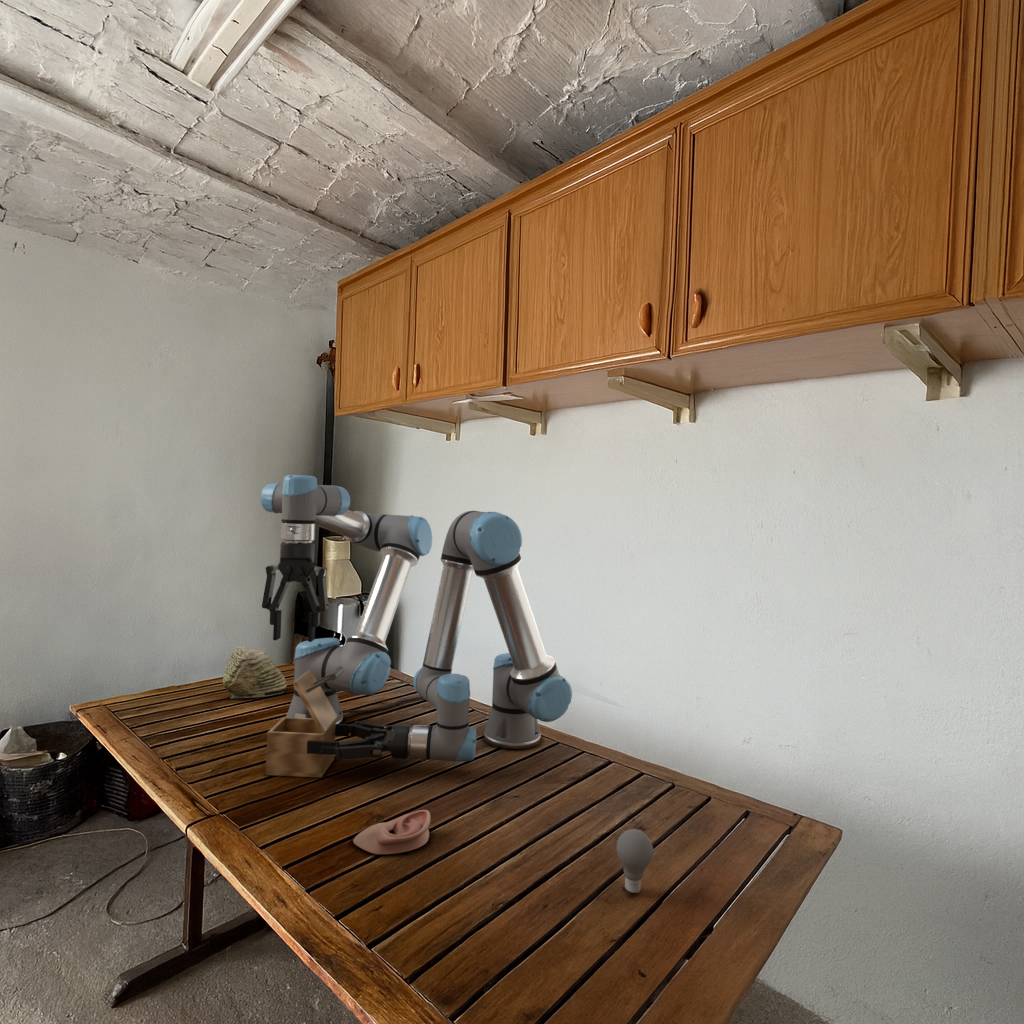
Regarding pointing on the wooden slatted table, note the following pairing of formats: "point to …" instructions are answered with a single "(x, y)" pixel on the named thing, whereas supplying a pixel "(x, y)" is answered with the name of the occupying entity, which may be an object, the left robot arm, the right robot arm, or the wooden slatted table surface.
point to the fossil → (252, 674)
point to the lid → (317, 697)
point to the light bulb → (634, 857)
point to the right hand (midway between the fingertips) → (315, 737)
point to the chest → (297, 748)
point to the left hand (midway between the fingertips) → (294, 639)
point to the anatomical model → (396, 834)
